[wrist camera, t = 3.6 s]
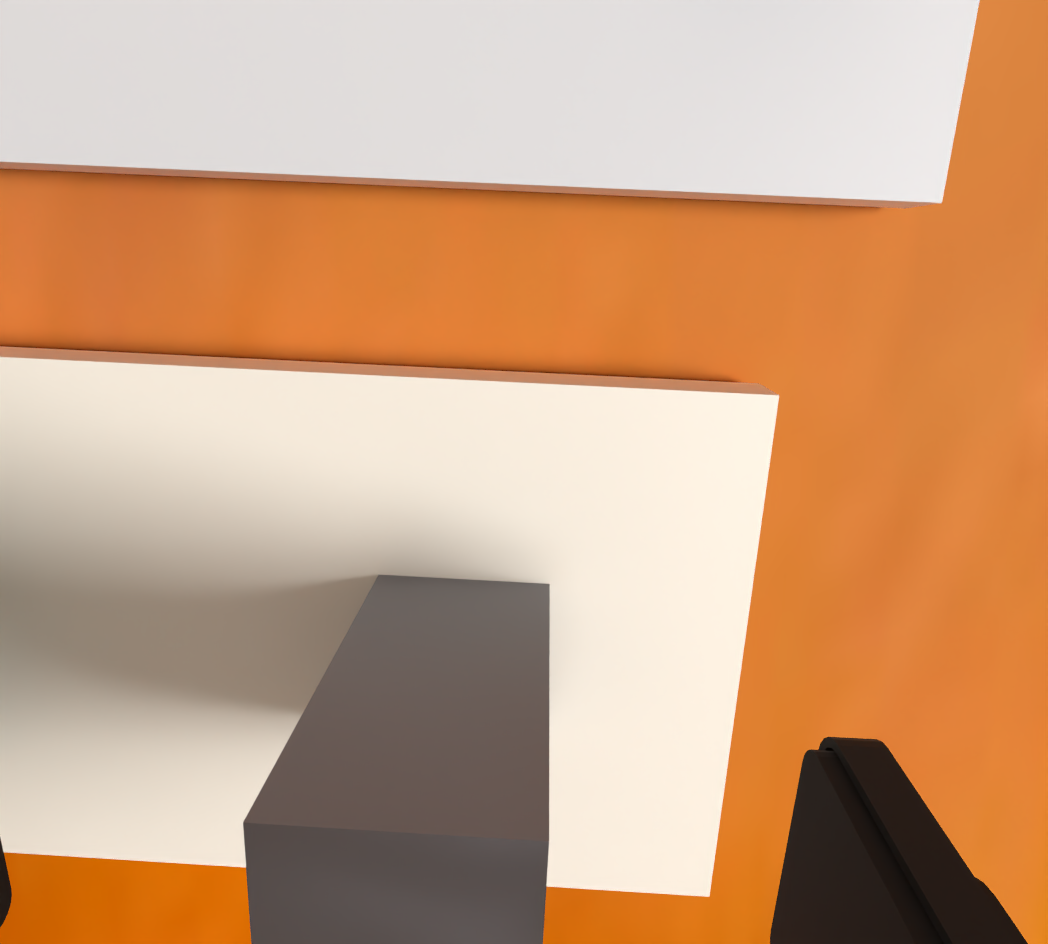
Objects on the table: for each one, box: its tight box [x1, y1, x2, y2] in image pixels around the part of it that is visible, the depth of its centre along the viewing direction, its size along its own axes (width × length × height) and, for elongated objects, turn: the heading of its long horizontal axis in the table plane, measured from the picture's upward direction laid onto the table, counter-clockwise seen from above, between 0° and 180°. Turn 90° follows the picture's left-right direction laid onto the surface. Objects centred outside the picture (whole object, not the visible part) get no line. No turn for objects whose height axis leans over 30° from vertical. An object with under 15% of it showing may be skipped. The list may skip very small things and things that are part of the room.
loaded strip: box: [0, 346, 779, 944], centre depth 11 cm, size 22×10×7 cm, turn 87°
